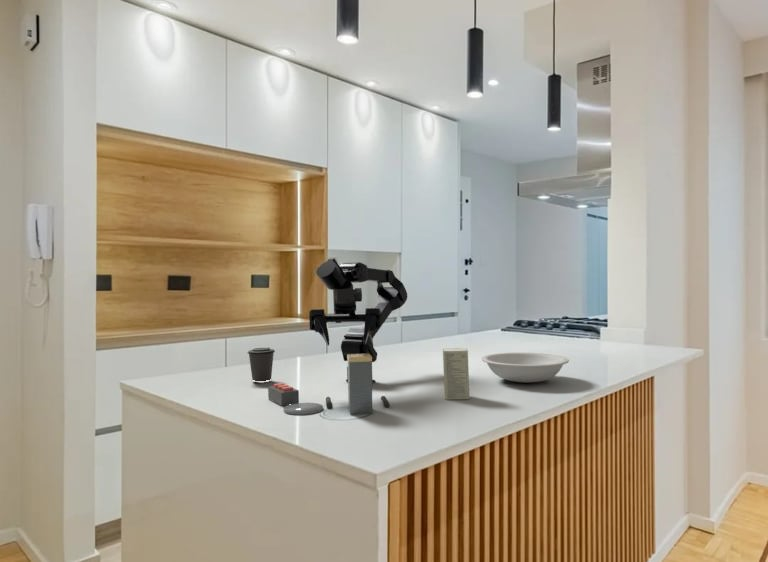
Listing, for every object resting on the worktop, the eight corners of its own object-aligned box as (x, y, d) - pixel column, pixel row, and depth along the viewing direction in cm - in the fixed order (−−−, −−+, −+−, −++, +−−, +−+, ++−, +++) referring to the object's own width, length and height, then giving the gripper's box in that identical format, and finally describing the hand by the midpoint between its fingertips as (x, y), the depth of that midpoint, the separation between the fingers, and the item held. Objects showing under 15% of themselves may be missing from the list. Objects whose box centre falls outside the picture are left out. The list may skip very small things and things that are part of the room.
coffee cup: (281, 380, 157) (280, 347, 157) (261, 385, 150) (261, 350, 150) (262, 378, 161) (261, 345, 161) (241, 382, 154) (241, 349, 154)
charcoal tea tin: (348, 409, 121) (347, 354, 121) (370, 407, 122) (369, 353, 122) (349, 414, 116) (348, 357, 116) (373, 413, 116) (371, 356, 116)
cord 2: (380, 400, 128) (380, 396, 128) (385, 400, 128) (385, 395, 128) (384, 407, 121) (384, 402, 121) (389, 407, 122) (389, 402, 122)
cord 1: (325, 401, 129) (325, 396, 129) (330, 401, 129) (330, 396, 129) (326, 408, 122) (326, 403, 122) (331, 408, 122) (331, 403, 122)
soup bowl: (465, 379, 154) (464, 356, 154) (525, 371, 166) (524, 350, 166) (524, 394, 133) (523, 368, 133) (587, 383, 145) (587, 359, 145)
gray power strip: (268, 399, 132) (268, 383, 132) (284, 396, 135) (284, 381, 135) (281, 406, 125) (281, 389, 125) (298, 403, 127) (298, 387, 127)
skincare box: (468, 395, 132) (467, 347, 132) (469, 400, 128) (468, 350, 128) (443, 395, 133) (442, 348, 133) (443, 399, 128) (442, 350, 128)
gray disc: (312, 403, 127) (312, 400, 127) (329, 410, 119) (329, 408, 119) (277, 408, 122) (277, 406, 122) (292, 417, 115) (292, 414, 115)
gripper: (308, 278, 136) (308, 324, 126) (379, 277, 139) (385, 322, 128) (309, 307, 144) (309, 352, 133) (376, 306, 147) (382, 350, 136)
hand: (346, 343), depth 132 cm, fingers open, 9 cm apart
